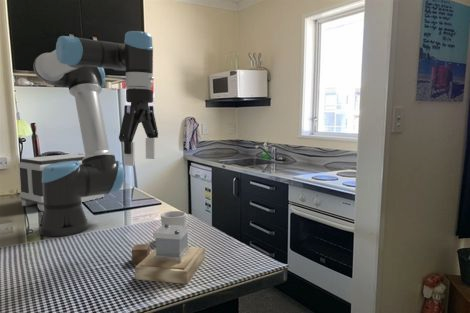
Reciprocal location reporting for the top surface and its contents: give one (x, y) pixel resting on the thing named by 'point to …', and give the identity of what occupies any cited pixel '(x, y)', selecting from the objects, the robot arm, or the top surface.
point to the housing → (171, 243)
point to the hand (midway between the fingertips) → (140, 162)
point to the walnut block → (140, 252)
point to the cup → (173, 218)
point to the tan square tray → (170, 267)
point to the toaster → (33, 177)
